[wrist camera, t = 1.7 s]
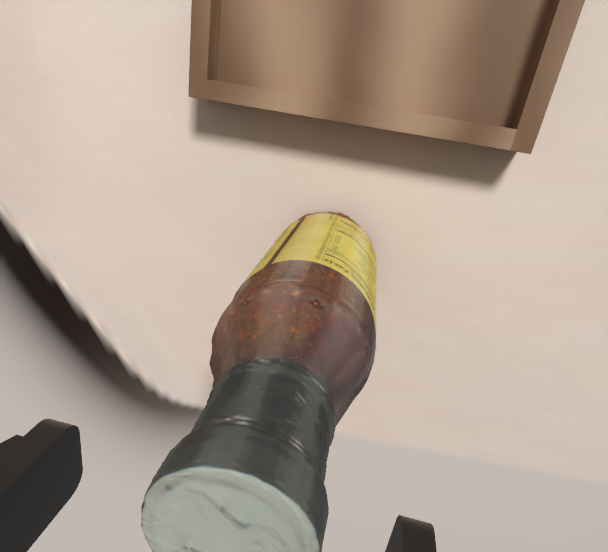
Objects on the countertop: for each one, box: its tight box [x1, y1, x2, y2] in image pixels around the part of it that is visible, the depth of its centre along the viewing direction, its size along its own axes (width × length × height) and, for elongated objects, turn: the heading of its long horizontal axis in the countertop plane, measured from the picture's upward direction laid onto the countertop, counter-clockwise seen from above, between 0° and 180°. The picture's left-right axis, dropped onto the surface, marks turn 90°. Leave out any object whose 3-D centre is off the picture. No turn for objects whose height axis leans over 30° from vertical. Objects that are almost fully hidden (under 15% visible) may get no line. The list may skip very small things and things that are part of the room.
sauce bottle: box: [141, 212, 376, 552], centre depth 18 cm, size 6×6×20 cm
